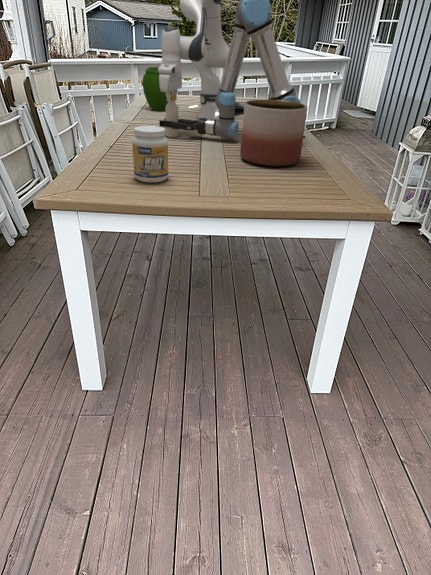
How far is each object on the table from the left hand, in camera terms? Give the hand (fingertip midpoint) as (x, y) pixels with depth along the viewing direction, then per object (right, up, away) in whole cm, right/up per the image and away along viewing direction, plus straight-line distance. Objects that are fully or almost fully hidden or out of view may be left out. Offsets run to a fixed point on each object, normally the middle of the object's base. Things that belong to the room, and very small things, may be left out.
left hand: (171, 100), depth 198 cm
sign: (+42, +33, +87) cm, 102 cm away
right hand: (-5, -8, +7) cm, 12 cm away
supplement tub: (-2, -52, -51) cm, 73 cm away
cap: (0, +2, -1) cm, 2 cm away
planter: (+44, -36, -23) cm, 62 cm away
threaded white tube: (-1, -14, +9) cm, 16 cm away
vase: (-16, +26, +70) cm, 77 cm away
